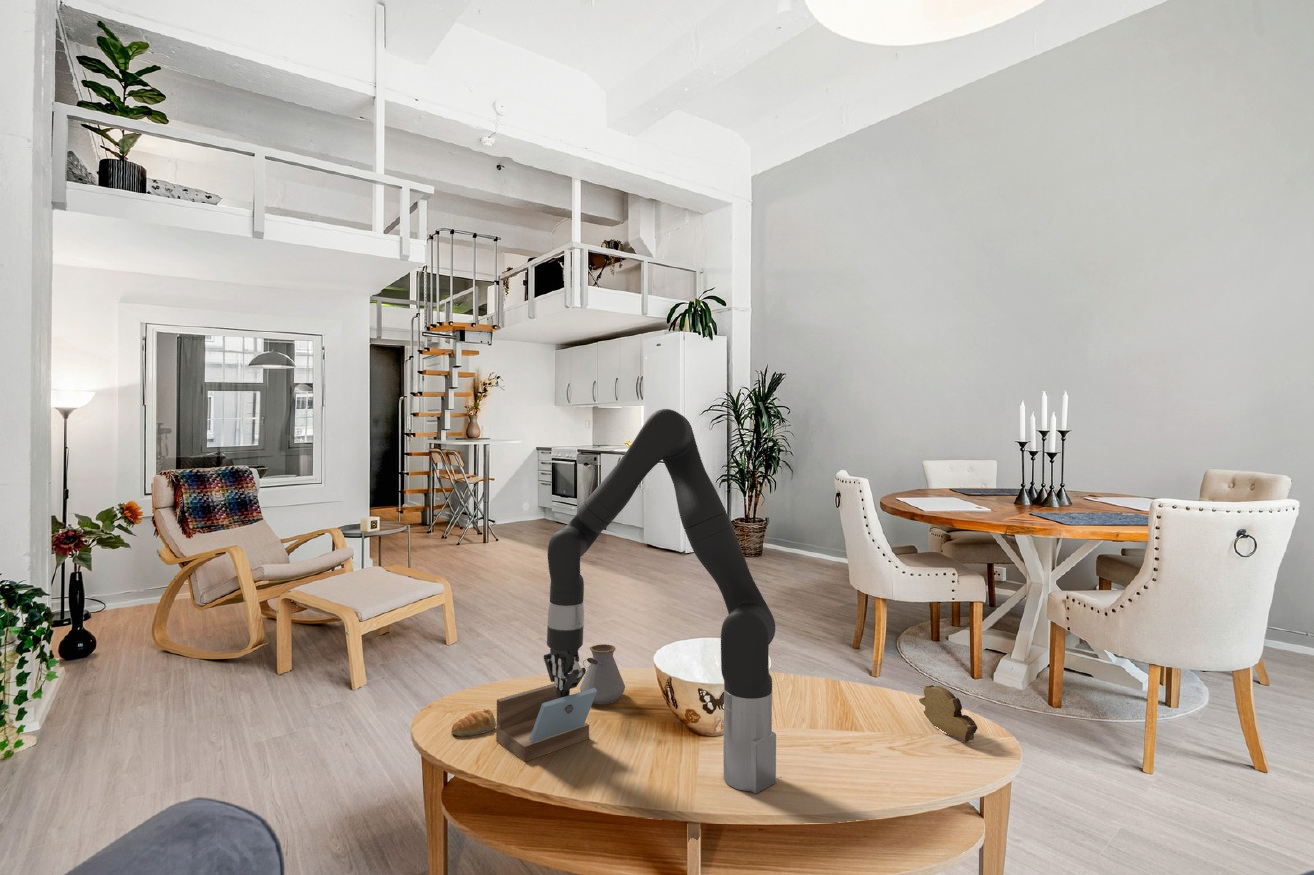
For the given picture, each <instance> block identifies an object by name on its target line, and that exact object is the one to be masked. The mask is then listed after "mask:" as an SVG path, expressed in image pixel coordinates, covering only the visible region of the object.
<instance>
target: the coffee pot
mask: <svg viewBox="0 0 1314 875" xmlns="http://www.w3.org/2000/svg"><path fill="white" fill-rule="evenodd" d="M589 650H590V651H591V654H592V657H588V658H586V659H585V660H583V662H582V665H583V666H585V665H584V662H585V661H586V662H588V663H589V664H588V666H586V668H587V669H586V673H585V675H584V676H583V678H582V680H581V681H582V682H581V684H580V687H579V690H580V691H579V692H582V691H585V690H589V689H592V688H595V689H596V690H597V693H596V696H595V698H594V701H593V703H595V705H609V703H610V704H613V703H615V702H616V701H618V699H620V698H621V697H622V695H623V694H624V692H625V689H626V685H625V683H624V680H623V678H622V674H621V672H620V670H619V667H618V664H617V663H616V660H615V658H614V653H615V652H616V647H615V646H614V645H612V644H605V643H604V644H602V643H600V644H596V645H592V646H589ZM593 703H592V704H593Z"/></svg>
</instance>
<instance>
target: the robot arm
mask: <svg viewBox="0 0 1314 875" xmlns="http://www.w3.org/2000/svg"><path fill="white" fill-rule="evenodd" d="M661 461H663V463H664V465H665V468H666V469H667V470H666V471H667V472H668V474H669V476H670V479H671V480H672V481H671V482H672V483H673V488H674V492H675V498H676V502H677V509H678V514H679V519H680V520H681V521H680V522H681V524H682V527H683V530H684V532H685V534H686V537H687V539H688V542H689V544H690V547H691V548H692V551H693V553H694V554H695V557H696V558H697V559H698V560H699V563H701V565H702V566H703V567H704V569H705V570H706V571H707V573H708V574H709V575H710V576H711V577H712V579H713V581H714V582H715V583H716V585H717V586H718V589H719V591H720V593H721V595H722V598H723V602H724V604H725V607H726V610H727V613H728V615H727V616H726V617H725V619H724V621H723V623H722V626H721V629H720V630H721V631H720V666H721V667H720V668H721V670H720V671H721V675H722V676H721V677H722V678H723V679H722V680H723V686H724V687H723V697H724V698H723V781H724V782H725V783H726V784H727V785H728V786H730V787H732V788H734V789H736V790H740V791H744V792H745V791H746V792H752V793H753V794H758V793H760V792H761V791H763V790H765V789H767V788H769V787H771V786H772V785H774V784H776V783H777V782H776V780H777V734H776V732H774V731H773V730H772V729H773V728H772V727H773V718H772V717H773V678H772V675H771V674H770V670H769V668H770V667H769V665H770V663H769V662H770V661H769V646H770V644H771V643H772V642H773V639H774V638H775V635H776V621H775V619H774V616H773V613H772V612H771V610H770V608H769V605H768V604H767V602H766V600H765V598H764V596H763V595H762V593H761V592H760V590H759V588H758V586H757V584H756V582H755V580H754V578H753V576H752V574H751V571H750V568H749V567H748V563H747V560H746V557H745V556H744V555H745V554H744V552H743V550H742V547H741V545H740V543H739V540H738V538H737V535H736V533H735V530H734V527H733V524H732V522H731V520H730V518H729V515H728V512H727V511H726V508H725V506H724V504H723V502H722V500H721V498H720V495H719V494H718V491H717V489H716V488H715V486H714V484H713V483H712V480H711V479H710V477H709V474H708V473H707V471H706V469H705V468H706V467H705V466H704V463H703V460H702V457H701V454H700V451H699V448H698V444H697V441H696V438H695V434H694V430H693V428H692V425H691V423H690V421H689V420H688V419H687V418H686V417H685V416H683V415H682V414H681V413H679V412H677V411H676V410H673V409H669V408H663V409H659V410H656V411H654V412H653V413H652V414H650V415H649V416H648V418H647V419H646V421H645V422H644V424H643V426H641V429H640V430H639V431H638V434H637V435H636V436H635V438H634V440H633V441H632V443H631V445H629V447H628V449H627V450H626V452H624V454H623V456H622V457H621V459H620V460H619V461H618V463H616V465H615V466H614V467H613V469H612V470H611V471H610V472H609V473H608V475H607V476H606V477H605V478H604V479H603V480H602V481H601V482H600V484H598V485H597V487H596V488H595V489H594V491H593V492H591V494H590V495H589V496H588V497H587V498H586V499H585V500H584V502H583V503H582V504H581V505H580V507H579V508H578V511H577V513H576V514H575V516H574V517H573V518H572V519H571V520H570V521H569V522H568V524H567V525H565V527H563V528H562V529H560V530H558V531H556V532H555V533H553V535H552V536H551V537H550V540H549V542H548V545H547V563H548V565H547V566H548V572H549V578H550V584H549V585H550V586H549V606H548V610H547V629H546V632H547V633H546V645H547V647H548V648H550V649H549V653H546V654H544V655H543V661H544V663H545V667H546V670H547V673H548V676H549V680H550V682H551V683H553V684H554V683H555V687H556V688H557V693H556V694H557V695H556V699H558V698H562V697H565V696H569V695H571V689H574V688H575V689H576V688H577V687H578V686H579V684H580V682H581V681H582V680H583V679H584V676H585V674H586V672H587V669H586V667H582V666H581V665H580V663H579V662H580V655H579V650H580V649H581V647H582V646H583V644H584V626H585V625H584V624H585V623H584V621H585V607H584V591H585V584H584V582H585V581H584V578H583V576H582V574H581V557H583V556H584V555H585V554H586V553H587V551H589V550H590V547H592V545H593V544H594V543H595V541H596V540H597V539H598V537H599V536H600V535H601V533H602V532H603V531H604V530H605V529H607V527H608V526H609V525H610V524H611V523H612V522H613V521H614V520H615V519H616V517H617V516H618V515H619V514H620V513H621V512H622V511H623V509H624V508H625V507H626V505H627V504H628V503H629V502H630V500H631V498H632V497H633V495H634V493H635V492H636V490H637V489H638V487H639V486H640V484H641V482H642V481H643V480H644V479H645V477H646V476H647V475H648V474H649V473H650V472H651V470H653V469H654V467H655V466H657V465H658V464H659V463H660V462H661Z"/></svg>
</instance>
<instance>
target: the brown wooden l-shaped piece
mask: <svg viewBox="0 0 1314 875" xmlns="http://www.w3.org/2000/svg"><path fill="white" fill-rule="evenodd" d="M556 693H557V688H556V687H555V683H554V682H553V683H552V684H548V685H543V686H540V687H537V688H536V687H535V688H534V689H529V690H526V691H523V692H519V693H514V694H512V695H507V696H504V697H500V698H497V699H496V727H495V728H496V732H495V733H496V737H495V738H496V740H495V741H496V742H497V743H498V744H500V745H501V746H503V747H504V748H505V749H507V751H509V752H510V753H512V754H513V755H514V756H516V757H517V758H518V759H520V760H521V761H523V762H528V761H531V760H533V759H536V758H539V757H542V756H544V755H548V754H551V753H553V752H555V751H559V750H561V749H564V748H567V747H569V746H572V745H575V744H578V743H581V742H584V741H586V740H588V739H590V724H589V723H587V722H585V723H584V725H583V726H580V727H577V728H574V729H572V730H569V731H566V732H563V733H560V734H557V735H554V736H551V737H548V738H545V739H542V740H539V741H536V742H533V743H531V742H530V740H529V739H530V736H531V733H532V730H533V727H534V725H535V722H536V719H537V716H538V714H539V711H540V708H541V705H542V703H545V702H548V701H552V700H555V699H556V695H557V694H556Z"/></svg>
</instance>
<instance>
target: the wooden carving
mask: <svg viewBox="0 0 1314 875" xmlns="http://www.w3.org/2000/svg"><path fill="white" fill-rule="evenodd" d="M923 695H924V697H920V698H918V701H919V703H920V704H921V705H922V706H925V708H924V709H925V710H924V711H923V714H924V715H925V717H926V718H927V719H928V721H929V722H930V723H931V724H932V726H933V727H934V726H936V727H938V728H939V729H941V730H942V731H944V732H946V733H947V734H949V735H950V737H952V736H954V737H956V738H957V739H958V740H959V741H960V742H962V743H968V742H970V741H974V737H975V733H977V730H978V725H977V724H976V722H975V720H974V719H972V717H970V716H969V715H967V714H963V712H962V710H963V705H962V702H961V700H960V698H959V697H956V696H955V695H954V693H952V692H951V691H950V690H948V688H946V687H943V686H940V685H936V686H935V685H933V684H931V685H925V686H924V688H923ZM949 735H948V736H949Z"/></svg>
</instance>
